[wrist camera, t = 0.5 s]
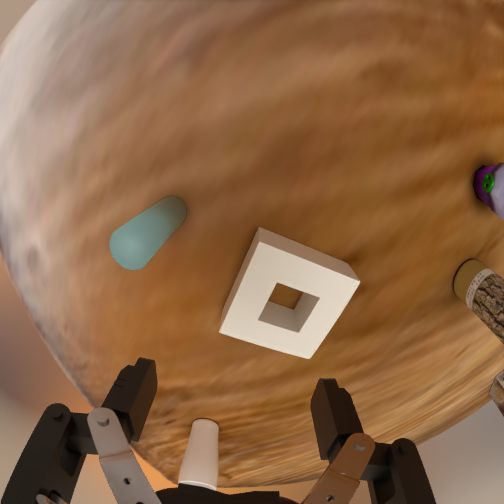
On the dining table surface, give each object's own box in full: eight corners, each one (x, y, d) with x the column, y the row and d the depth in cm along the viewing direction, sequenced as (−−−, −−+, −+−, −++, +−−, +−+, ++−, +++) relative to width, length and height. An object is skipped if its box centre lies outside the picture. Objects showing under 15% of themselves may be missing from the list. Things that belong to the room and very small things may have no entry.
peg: (162, 191, 30) (114, 219, 19) (190, 202, 30) (155, 236, 19) (154, 219, 31) (106, 260, 20) (181, 230, 32) (145, 276, 20)
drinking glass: (204, 411, 45) (194, 479, 31) (229, 426, 46) (224, 490, 33) (182, 421, 46) (169, 482, 32) (207, 434, 48) (199, 493, 34)
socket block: (258, 226, 31) (259, 241, 27) (347, 263, 33) (360, 281, 28) (223, 308, 35) (218, 332, 31) (304, 335, 37) (309, 359, 32)
